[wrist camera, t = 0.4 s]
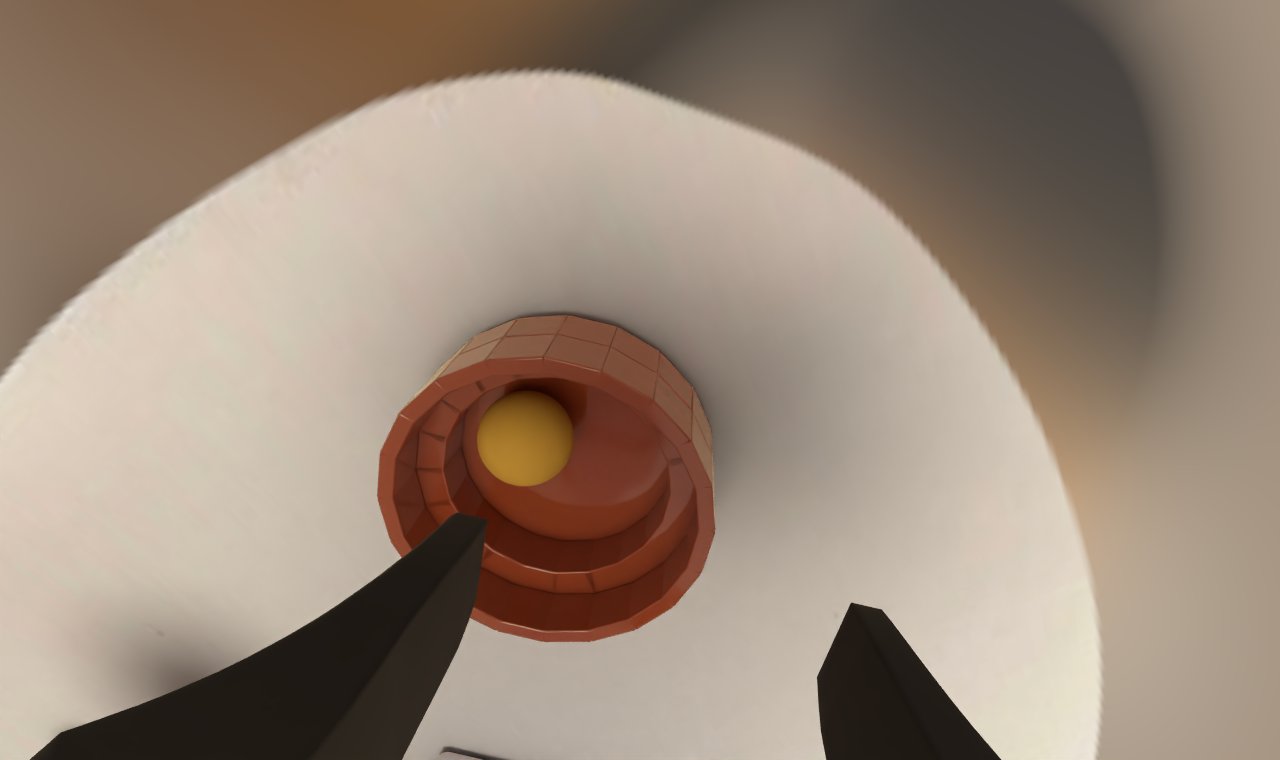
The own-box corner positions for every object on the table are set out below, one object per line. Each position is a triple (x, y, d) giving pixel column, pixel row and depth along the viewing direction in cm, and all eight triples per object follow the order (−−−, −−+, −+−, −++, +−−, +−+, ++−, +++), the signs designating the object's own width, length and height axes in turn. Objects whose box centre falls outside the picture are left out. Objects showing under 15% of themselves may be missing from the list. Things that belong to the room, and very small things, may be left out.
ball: (572, 463, 23) (555, 515, 20) (487, 443, 23) (458, 492, 20) (588, 387, 22) (572, 431, 19) (499, 365, 22) (469, 407, 19)
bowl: (674, 587, 25) (669, 671, 22) (418, 527, 25) (370, 602, 22) (748, 351, 21) (757, 407, 17) (441, 278, 21) (386, 319, 17)
